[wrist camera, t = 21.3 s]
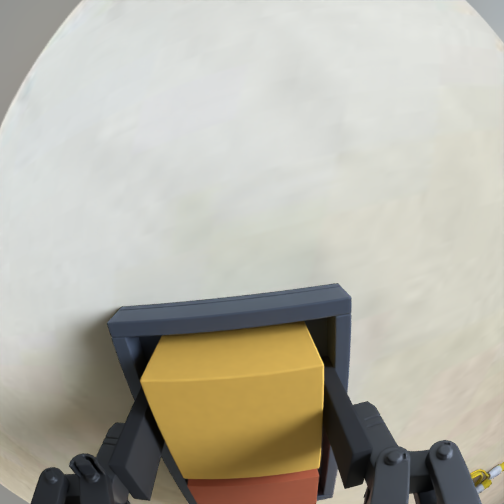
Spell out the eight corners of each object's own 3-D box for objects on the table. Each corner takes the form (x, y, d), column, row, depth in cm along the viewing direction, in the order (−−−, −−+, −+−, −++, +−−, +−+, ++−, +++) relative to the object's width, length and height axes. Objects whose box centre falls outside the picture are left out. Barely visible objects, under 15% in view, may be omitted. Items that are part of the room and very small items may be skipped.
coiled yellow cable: (459, 504, 24) (462, 511, 22) (401, 522, 23) (405, 531, 21) (506, 458, 22) (511, 465, 20) (460, 472, 20) (466, 482, 18)
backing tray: (121, 306, 14) (106, 322, 12) (338, 282, 14) (352, 297, 12) (194, 492, 18) (192, 509, 16) (327, 479, 18) (332, 497, 16)
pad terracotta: (194, 437, 15) (186, 486, 12) (306, 427, 16) (319, 475, 12) (215, 489, 17) (213, 528, 13) (305, 481, 17) (314, 520, 13)
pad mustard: (161, 333, 14) (138, 380, 10) (303, 319, 14) (324, 364, 10) (191, 429, 15) (183, 479, 11) (306, 419, 15) (319, 468, 11)
